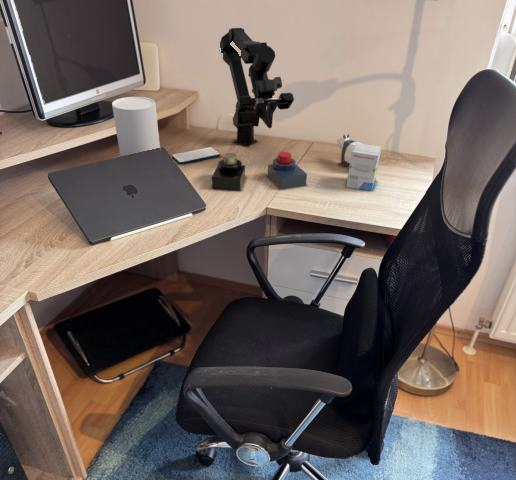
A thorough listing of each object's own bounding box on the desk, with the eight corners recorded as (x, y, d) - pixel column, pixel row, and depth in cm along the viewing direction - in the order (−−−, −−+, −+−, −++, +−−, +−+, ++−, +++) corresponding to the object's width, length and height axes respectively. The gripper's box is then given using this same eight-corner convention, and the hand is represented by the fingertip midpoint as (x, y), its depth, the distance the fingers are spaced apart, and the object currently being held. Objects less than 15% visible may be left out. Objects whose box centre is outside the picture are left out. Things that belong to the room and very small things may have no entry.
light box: (219, 174, 168) (218, 157, 164) (245, 176, 167) (245, 159, 164) (212, 188, 159) (211, 171, 156) (240, 191, 159) (240, 174, 155)
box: (266, 175, 168) (267, 159, 164) (290, 171, 171) (291, 155, 167) (281, 189, 160) (282, 172, 157) (306, 185, 163) (307, 168, 159)
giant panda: (367, 171, 173) (372, 143, 167) (354, 174, 171) (359, 146, 164) (342, 156, 182) (346, 129, 176) (329, 159, 180) (333, 132, 174)
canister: (167, 168, 170) (161, 106, 157) (130, 175, 165) (120, 112, 152) (152, 154, 179) (146, 94, 165) (116, 161, 173) (106, 99, 160)
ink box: (375, 181, 167) (382, 146, 159) (371, 191, 161) (378, 155, 153) (350, 177, 169) (356, 142, 161) (345, 186, 163) (351, 151, 155)
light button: (224, 160, 163) (224, 152, 161) (238, 162, 163) (238, 153, 161) (222, 166, 160) (222, 157, 158) (235, 167, 160) (235, 158, 158)
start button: (275, 160, 164) (275, 152, 163) (287, 159, 166) (288, 151, 164) (281, 166, 161) (281, 157, 160) (293, 164, 163) (293, 155, 161)
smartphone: (180, 165, 173) (221, 156, 179) (179, 162, 172) (221, 154, 178) (171, 157, 178) (211, 149, 184) (170, 154, 177) (211, 146, 183)
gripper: (238, 68, 154) (249, 117, 153) (294, 65, 159) (304, 112, 158) (231, 89, 164) (241, 134, 164) (283, 85, 169) (293, 129, 169)
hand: (270, 127), depth 164 cm, fingers closed
